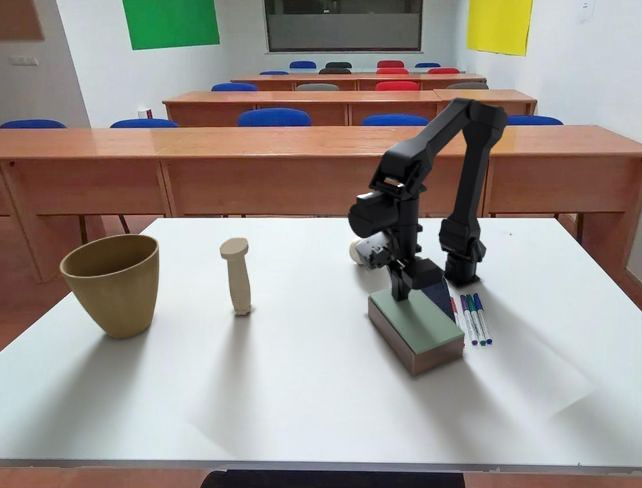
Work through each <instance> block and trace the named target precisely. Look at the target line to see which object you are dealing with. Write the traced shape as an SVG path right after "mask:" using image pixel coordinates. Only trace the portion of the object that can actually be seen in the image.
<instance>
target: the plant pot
mask: <svg viewBox="0 0 642 488" xmlns="http://www.w3.org/2000/svg"><path fill="white" fill-rule="evenodd" d="M59 271H60V273H61V275H62V276H63V278H64V280H65V282H66V283H67V285H68V287H69V289H70V290H71V292H72V293H73V295H74V297H75V298H76V300H77V301H78V303H79V304H80V305H81V307H82V308H83V310H84V311H85V312H86V314H87V315H88V316H89V317H90V318H91V319H92V321H93V322H94V323H95V324H96V325H97V326H98V327H99V328H100V329H101V330H102V331H103V332H105V334H107V335H108V336H109V337H110V338H112V339H117V340H120V339H127V338H131V337H134V336H136V335H139V334H141V333H142V332H144V331H145V330H146V329H148V328H149V327H150V325H151V323H152V322H153V318H154V315H155V309H156V304H157V299H158V291H159V282H160V243H159V241H158V240H157V238H156V237H153V236H151V235H147V234H141V233H126V234H125V233H124V234H117V235H111V236H107V237H102V238H100V239H97V240H93V241H90V242H88V243H86V244H83V245H81V246H79V247H77V248H76V249H74V250H72V251H71V252H69V253H68V254H67V255H66V256H64V258H63V259H62V260H61V262H60V263H59Z"/></svg>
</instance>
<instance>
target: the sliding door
mask: <svg viewBox="0 0 642 488" xmlns="http://www.w3.org/2000/svg"><path fill="white" fill-rule="evenodd" d="M369 296H370V298H371V299H372V300H373V301H374V303H375V304H376V305H377V306H378V308H379V309H380V310H381V311H382V313H383V314H384V315H385V316H386V317H387V319H388V320H389V321H390V322H391V324H392V325H393V326H394V327H395V329H396V330H397V331H398V332H399V333H400V335H401V336H402V337H403V338H404V340H405V341H406V342H407V343H408V345H409V346H410V347H411V348H412V349H413V351H414V352H415V353H416V354H420V353H422V352H425V351H428V350H430V349H433V348H435V347H438V346H440V345H443V344H445V343H448V342H450V341H453V340H455V339H458V338H460V337H463V336H466V332H464V330H463V329H461V327H460V326H458V325H457V324H456V323H455V322H454V321H453V320H452V319H451V318H450V317H449V316H448V315H447V314H446V313H445V312H444V311H443V310H442V309H441V308H440V307H439V306H438V305H437V304H436V303H435V302H433V300H431V298H430V297H428V295H426V294H425V293H424V292H423V291H422V289H420V290H412V289H411V291H410V292H409V294H408V296H407V297H405V298H401V295H400V287H399V278H398V277H397V276H396V275H395V274H394V273H392V283H391V287H389V288H385V289H382V290H378V291H375V292H372V293H369V295H368V297H369Z"/></svg>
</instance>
